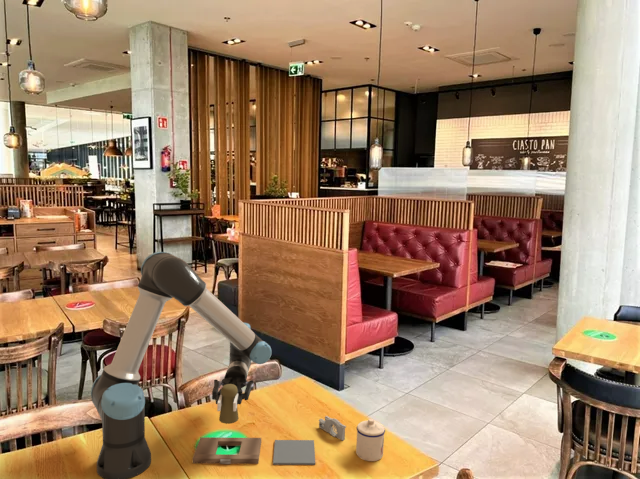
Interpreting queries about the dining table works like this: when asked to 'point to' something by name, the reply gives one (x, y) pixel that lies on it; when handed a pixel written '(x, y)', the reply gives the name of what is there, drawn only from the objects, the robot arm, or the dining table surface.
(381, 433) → the teacup with lid
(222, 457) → the walnut holder
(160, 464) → the dining table surface
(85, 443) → the dining table surface
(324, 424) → the garden wall model
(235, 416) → the brown tall rounded piece
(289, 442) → the gray mat
